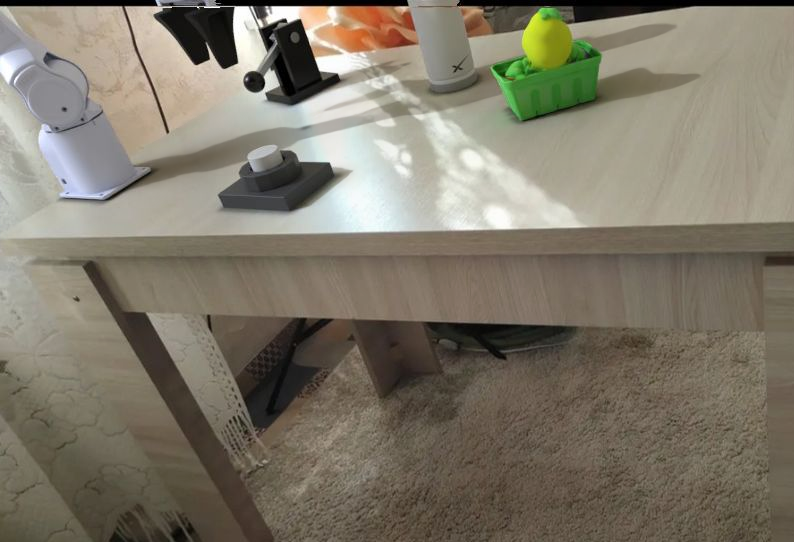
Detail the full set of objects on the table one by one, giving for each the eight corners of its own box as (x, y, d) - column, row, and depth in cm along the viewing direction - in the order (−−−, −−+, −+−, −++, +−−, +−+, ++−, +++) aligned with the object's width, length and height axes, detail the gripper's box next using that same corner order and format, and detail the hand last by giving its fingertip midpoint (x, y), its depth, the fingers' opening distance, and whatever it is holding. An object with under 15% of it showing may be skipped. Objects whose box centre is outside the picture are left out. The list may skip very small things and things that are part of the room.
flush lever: (261, 98, 109) (245, 84, 107) (251, 96, 111) (235, 82, 109) (302, 36, 111) (287, 21, 109) (291, 35, 113) (276, 20, 111)
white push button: (247, 173, 83) (240, 158, 82) (267, 159, 86) (261, 144, 85) (270, 174, 82) (263, 159, 81) (290, 159, 84) (284, 144, 83)
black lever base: (292, 105, 111) (265, 35, 105) (267, 100, 115) (240, 34, 110) (340, 81, 115) (318, 13, 109) (315, 77, 120) (291, 12, 114)
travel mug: (474, 89, 99) (433, -83, 87) (426, 96, 101) (380, -71, 89) (484, 71, 104) (446, -94, 92) (438, 79, 106) (395, -82, 94)
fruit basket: (588, 80, 92) (573, -19, 86) (614, 102, 85) (600, -5, 79) (497, 108, 92) (475, 10, 85) (516, 132, 84) (494, 27, 78)
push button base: (223, 208, 85) (210, 179, 83) (270, 174, 91) (258, 146, 89) (290, 211, 81) (277, 181, 78) (335, 176, 86) (324, 146, 84)
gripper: (224, -65, 87) (271, 55, 95) (170, -60, 96) (216, 49, 104) (169, -46, 83) (222, 77, 91) (118, -42, 93) (170, 69, 101)
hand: (216, 64), depth 98 cm, fingers open, 7 cm apart
